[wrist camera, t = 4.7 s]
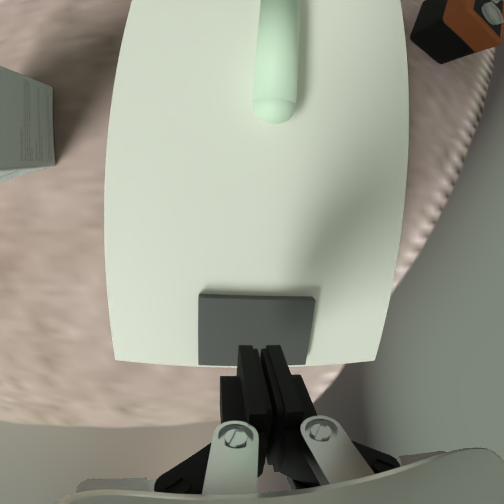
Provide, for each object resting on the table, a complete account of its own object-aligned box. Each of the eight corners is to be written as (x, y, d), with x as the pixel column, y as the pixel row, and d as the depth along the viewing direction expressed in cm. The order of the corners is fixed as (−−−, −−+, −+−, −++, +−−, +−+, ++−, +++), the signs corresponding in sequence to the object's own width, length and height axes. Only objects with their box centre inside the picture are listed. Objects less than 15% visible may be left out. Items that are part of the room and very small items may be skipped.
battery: (406, 39, 21) (474, 4, 11) (421, 1, 20) (479, -35, 10) (440, 67, 22) (511, 44, 12) (451, 26, 20) (513, 1, 11)
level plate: (150, -19, 13) (138, -57, 9) (383, 11, 15) (415, -15, 11) (125, 340, 18) (105, 379, 14) (360, 343, 20) (388, 376, 16)
